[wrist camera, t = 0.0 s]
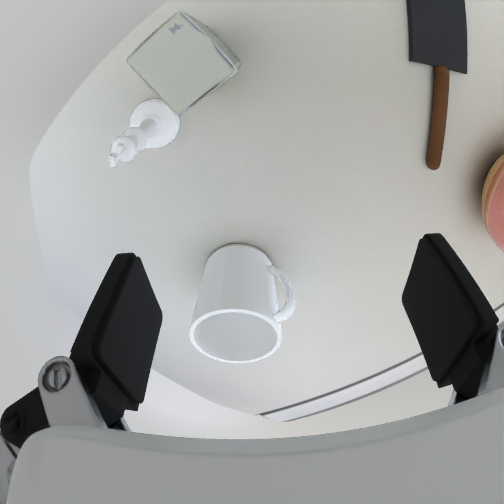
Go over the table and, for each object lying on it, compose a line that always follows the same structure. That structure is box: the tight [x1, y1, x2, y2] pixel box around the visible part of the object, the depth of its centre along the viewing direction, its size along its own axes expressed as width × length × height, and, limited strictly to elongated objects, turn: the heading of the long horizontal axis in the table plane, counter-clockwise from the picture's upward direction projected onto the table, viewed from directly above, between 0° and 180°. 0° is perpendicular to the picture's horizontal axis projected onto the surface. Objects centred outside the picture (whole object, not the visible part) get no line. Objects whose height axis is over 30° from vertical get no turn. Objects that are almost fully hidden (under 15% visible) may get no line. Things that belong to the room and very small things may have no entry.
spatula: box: [407, 0, 467, 170], centre depth 21 cm, size 20×7×2 cm, turn 5°
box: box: [126, 11, 241, 116], centre depth 17 cm, size 5×4×11 cm
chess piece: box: [108, 99, 180, 168], centre depth 21 cm, size 5×5×10 cm
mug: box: [189, 243, 296, 363], centre depth 32 cm, size 11×9×10 cm
